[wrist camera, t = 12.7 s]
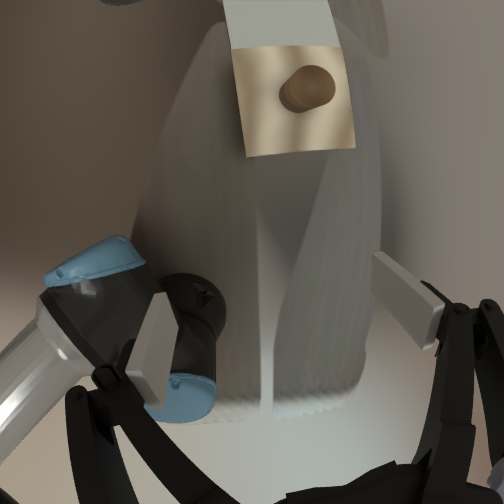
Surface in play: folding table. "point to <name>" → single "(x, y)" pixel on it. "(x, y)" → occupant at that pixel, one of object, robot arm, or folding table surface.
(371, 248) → the folding table surface
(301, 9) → the mat
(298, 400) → the folding table surface
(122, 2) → the tankard
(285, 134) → the lid
